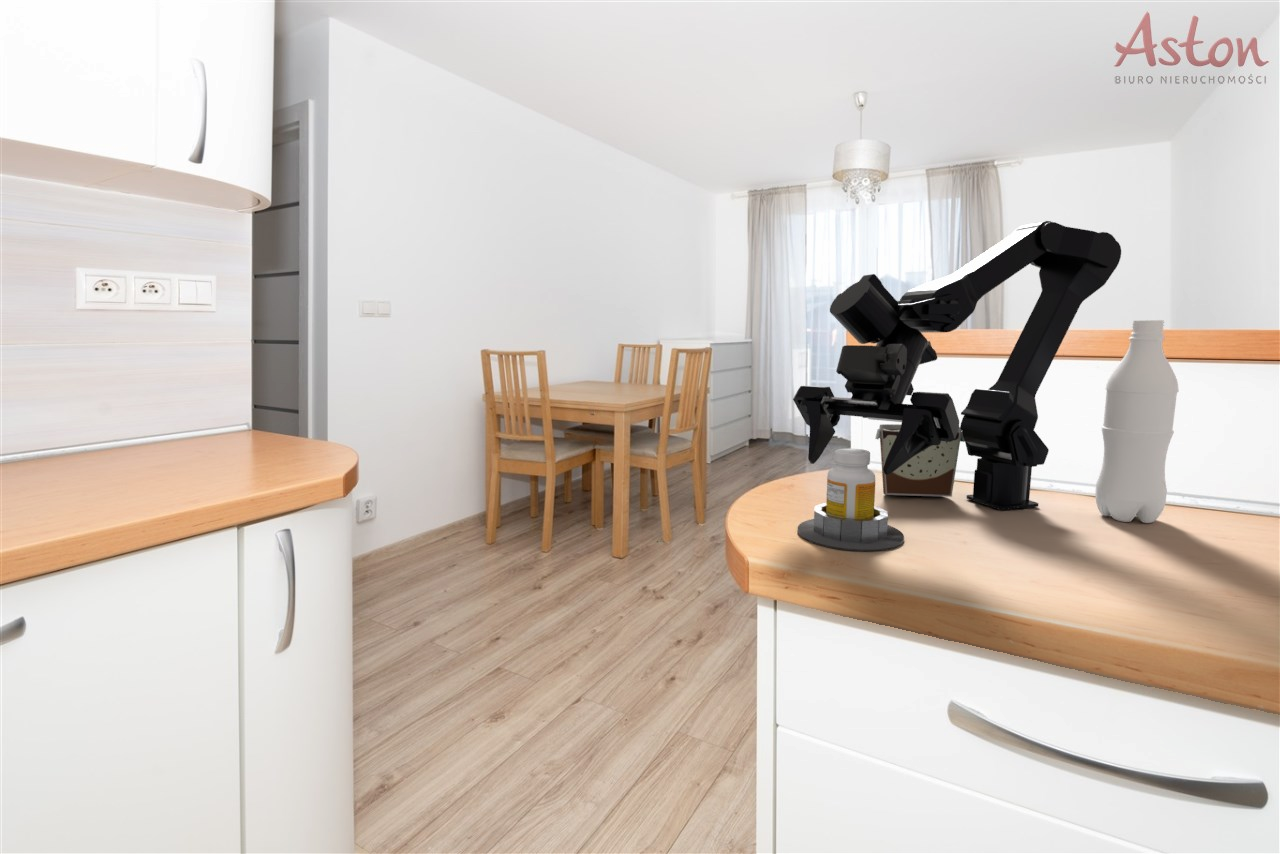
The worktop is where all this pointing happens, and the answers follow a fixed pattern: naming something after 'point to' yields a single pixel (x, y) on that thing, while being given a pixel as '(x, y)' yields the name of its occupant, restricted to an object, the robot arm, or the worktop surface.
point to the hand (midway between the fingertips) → (846, 467)
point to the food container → (920, 466)
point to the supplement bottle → (851, 485)
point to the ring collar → (851, 531)
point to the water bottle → (1137, 429)
